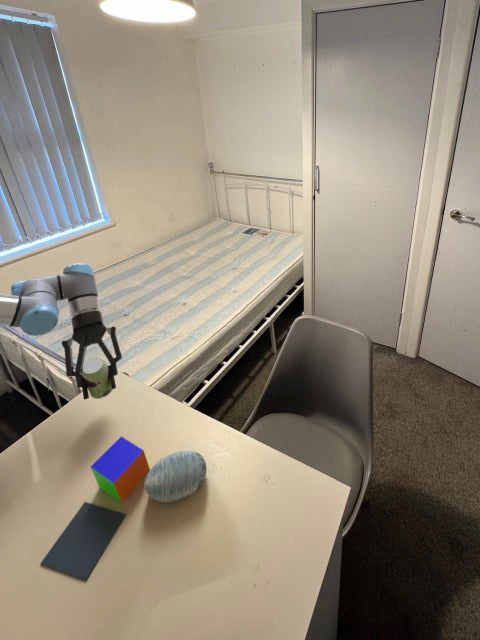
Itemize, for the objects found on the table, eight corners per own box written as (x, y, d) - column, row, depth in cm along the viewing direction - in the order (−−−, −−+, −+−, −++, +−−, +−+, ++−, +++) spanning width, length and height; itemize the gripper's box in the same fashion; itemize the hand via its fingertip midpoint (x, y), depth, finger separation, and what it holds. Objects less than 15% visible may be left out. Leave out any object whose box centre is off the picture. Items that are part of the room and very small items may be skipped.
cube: (128, 456, 84) (121, 436, 81) (150, 470, 81) (143, 450, 77) (99, 486, 77) (90, 466, 74) (121, 503, 74) (113, 483, 71)
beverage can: (111, 379, 98) (101, 349, 93) (119, 394, 93) (109, 363, 88) (87, 391, 94) (76, 361, 89) (94, 407, 89) (83, 376, 84)
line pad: (40, 564, 65) (40, 563, 65) (85, 502, 74) (84, 501, 74) (86, 580, 62) (85, 580, 62) (126, 515, 72) (125, 514, 72)
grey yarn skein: (210, 445, 83) (195, 442, 75) (214, 490, 78) (197, 492, 69) (159, 461, 83) (138, 460, 75) (159, 507, 77) (136, 512, 69)
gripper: (123, 307, 103) (138, 380, 97) (51, 326, 94) (63, 407, 88) (120, 302, 96) (137, 379, 90) (42, 322, 88) (55, 409, 82)
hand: (100, 393), depth 89 cm, fingers closed on beverage can, 6 cm apart
